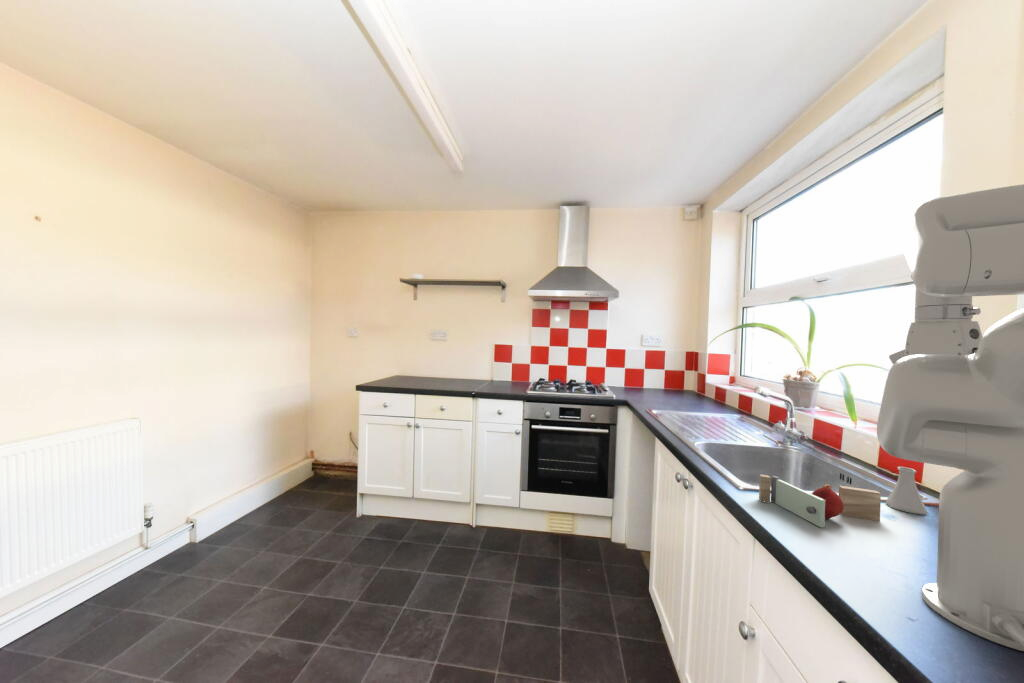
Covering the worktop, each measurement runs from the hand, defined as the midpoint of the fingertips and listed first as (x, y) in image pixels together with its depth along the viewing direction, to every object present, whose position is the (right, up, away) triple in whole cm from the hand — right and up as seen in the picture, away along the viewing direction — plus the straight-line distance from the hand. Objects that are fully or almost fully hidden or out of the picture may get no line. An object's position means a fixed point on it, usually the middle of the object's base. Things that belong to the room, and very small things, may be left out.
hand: (939, 397), depth 73 cm
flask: (+10, -31, +15) cm, 36 cm away
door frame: (-14, -30, +14) cm, 36 cm away
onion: (-16, -30, +9) cm, 35 cm away
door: (-21, -30, +11) cm, 38 cm away
